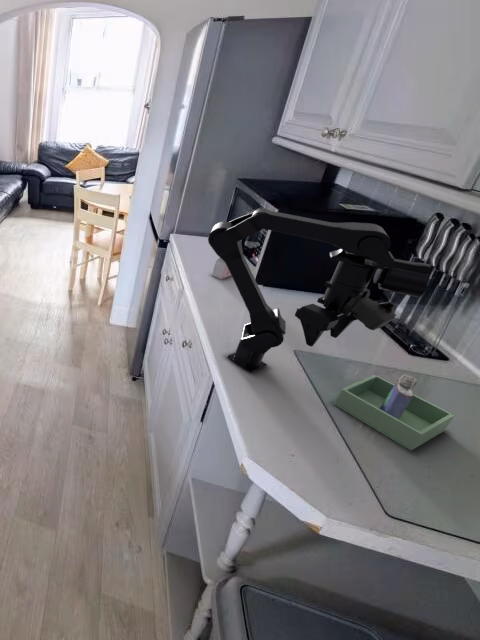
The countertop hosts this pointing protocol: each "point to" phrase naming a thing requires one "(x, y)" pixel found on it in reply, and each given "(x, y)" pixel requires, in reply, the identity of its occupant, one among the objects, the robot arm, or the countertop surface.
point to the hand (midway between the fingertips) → (321, 341)
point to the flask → (399, 396)
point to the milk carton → (221, 269)
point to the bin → (410, 428)
